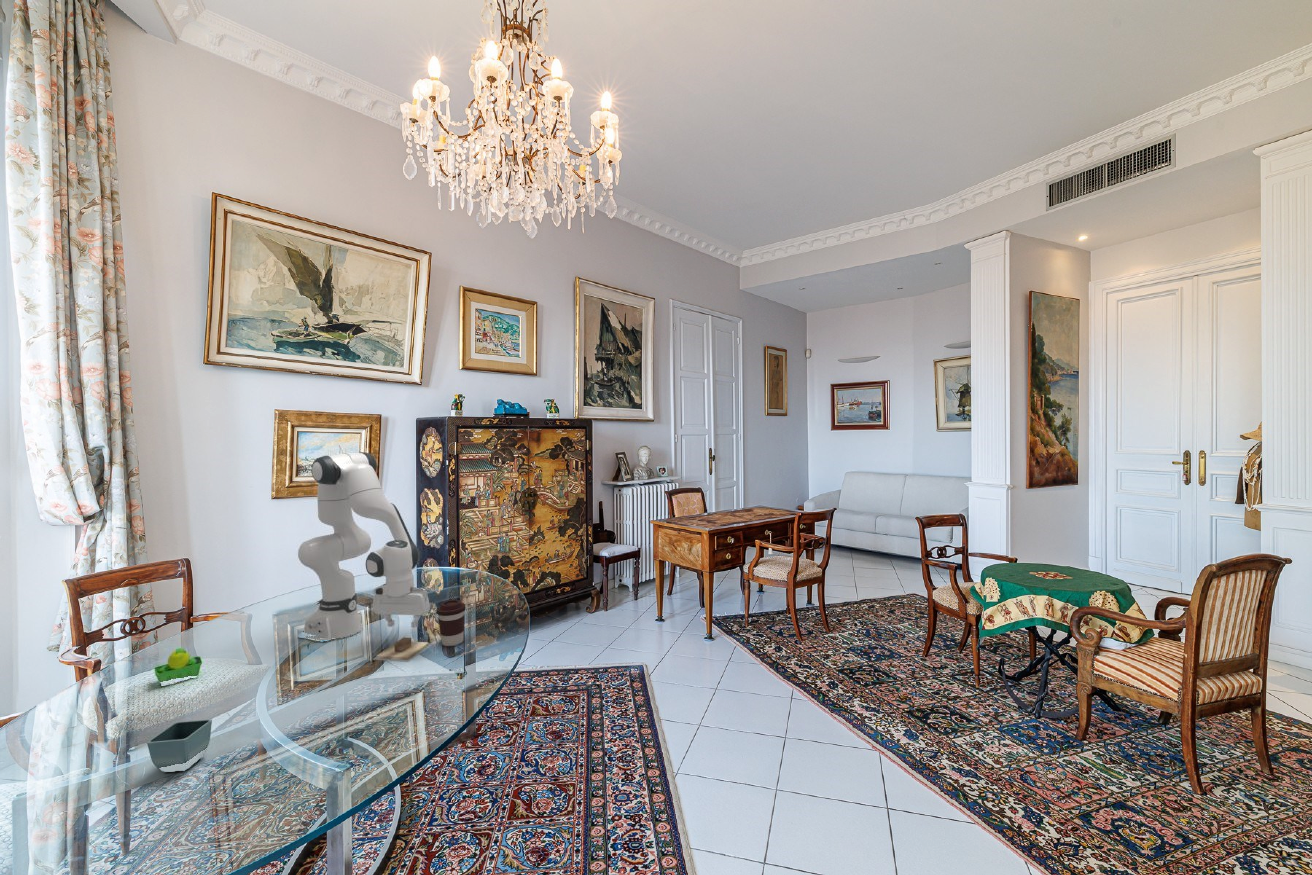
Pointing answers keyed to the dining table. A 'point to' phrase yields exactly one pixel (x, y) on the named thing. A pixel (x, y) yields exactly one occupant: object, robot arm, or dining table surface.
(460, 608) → the coffee cup
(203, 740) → the flower pot
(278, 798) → the dining table surface
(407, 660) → the mat
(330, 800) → the dining table surface
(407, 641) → the lid
